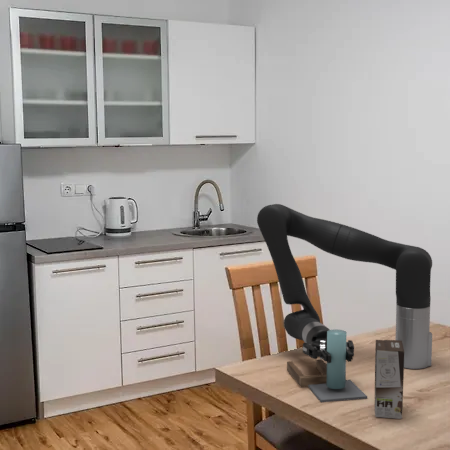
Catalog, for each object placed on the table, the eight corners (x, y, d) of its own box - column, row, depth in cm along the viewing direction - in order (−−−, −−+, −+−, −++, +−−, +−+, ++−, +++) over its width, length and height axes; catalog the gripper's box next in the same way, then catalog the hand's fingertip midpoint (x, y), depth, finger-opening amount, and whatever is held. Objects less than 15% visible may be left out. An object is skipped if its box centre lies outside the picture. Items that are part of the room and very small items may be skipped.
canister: (341, 381, 178) (342, 328, 176) (348, 388, 173) (349, 334, 171) (323, 382, 177) (324, 330, 175) (329, 389, 172) (330, 335, 170)
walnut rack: (321, 367, 193) (321, 359, 192) (337, 384, 180) (337, 375, 179) (286, 370, 191) (287, 361, 191) (300, 387, 178) (300, 378, 178)
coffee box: (403, 419, 158) (405, 351, 155) (374, 417, 159) (375, 349, 157) (401, 404, 166) (402, 339, 164) (374, 402, 168) (375, 338, 166)
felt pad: (350, 381, 182) (350, 379, 182) (367, 398, 170) (367, 396, 170) (306, 384, 180) (306, 382, 180) (320, 402, 168) (320, 399, 168)
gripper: (293, 326, 186) (312, 345, 169) (344, 323, 188) (367, 342, 172) (293, 353, 187) (312, 375, 170) (343, 350, 189) (367, 371, 173)
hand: (340, 358), depth 171 cm, fingers closed on canister, 4 cm apart
